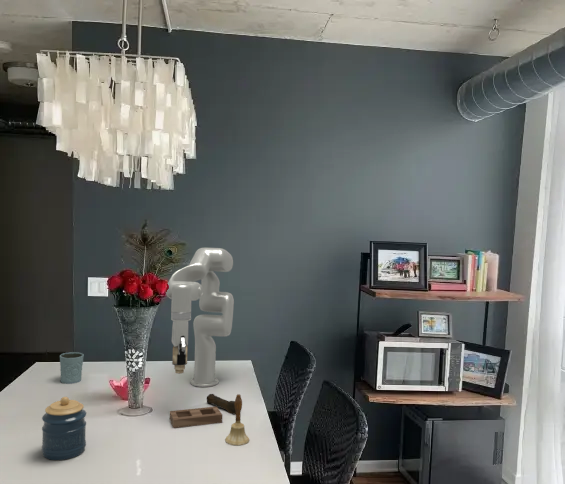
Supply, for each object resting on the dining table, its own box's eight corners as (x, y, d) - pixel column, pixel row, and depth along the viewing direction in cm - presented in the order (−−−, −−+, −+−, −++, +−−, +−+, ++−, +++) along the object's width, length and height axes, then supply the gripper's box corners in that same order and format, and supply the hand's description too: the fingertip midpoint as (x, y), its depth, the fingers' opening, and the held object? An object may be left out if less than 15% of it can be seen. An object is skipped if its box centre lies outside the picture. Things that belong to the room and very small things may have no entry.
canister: (63, 440, 173) (64, 388, 173) (94, 447, 169) (95, 393, 168) (32, 456, 161) (32, 400, 160) (64, 464, 156) (65, 406, 156)
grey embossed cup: (65, 377, 240) (66, 351, 240) (87, 378, 240) (87, 352, 239) (55, 384, 230) (55, 357, 230) (77, 384, 230) (78, 358, 229)
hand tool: (205, 404, 212) (206, 392, 212) (213, 401, 215) (214, 390, 214) (233, 418, 198) (234, 406, 198) (242, 415, 201) (242, 403, 200)
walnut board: (169, 419, 194) (169, 411, 194) (216, 413, 201) (216, 406, 201) (173, 428, 186) (173, 419, 186) (222, 422, 192) (222, 414, 192)
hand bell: (253, 442, 176) (254, 396, 175) (231, 447, 172) (232, 400, 171) (243, 433, 183) (244, 389, 182) (221, 438, 179) (222, 392, 178)
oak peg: (170, 370, 202) (171, 345, 202) (185, 369, 204) (186, 344, 204) (173, 375, 196) (173, 348, 196) (188, 373, 198) (188, 348, 198)
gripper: (168, 312, 206) (166, 357, 207) (174, 320, 190) (173, 369, 191) (186, 312, 209) (185, 356, 209) (195, 319, 193) (193, 367, 193)
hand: (179, 362), depth 200 cm, fingers closed on oak peg, 5 cm apart
